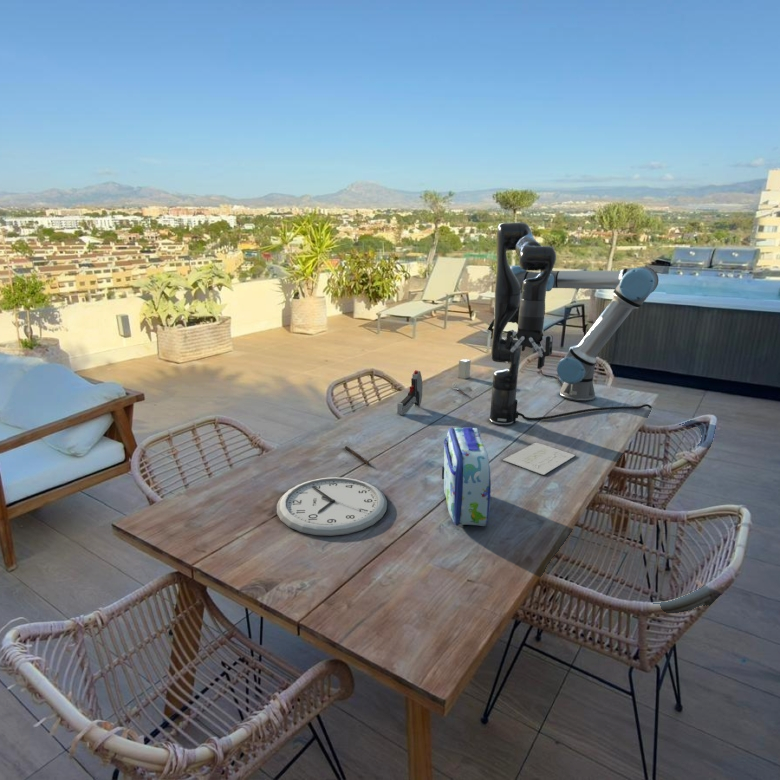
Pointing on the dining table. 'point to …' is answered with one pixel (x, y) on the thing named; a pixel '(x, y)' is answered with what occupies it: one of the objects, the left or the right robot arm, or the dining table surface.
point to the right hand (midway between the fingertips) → (508, 348)
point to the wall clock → (331, 506)
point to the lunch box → (466, 477)
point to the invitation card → (539, 458)
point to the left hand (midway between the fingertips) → (526, 365)
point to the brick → (464, 368)
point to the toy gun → (412, 394)
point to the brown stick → (357, 455)
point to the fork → (458, 389)
